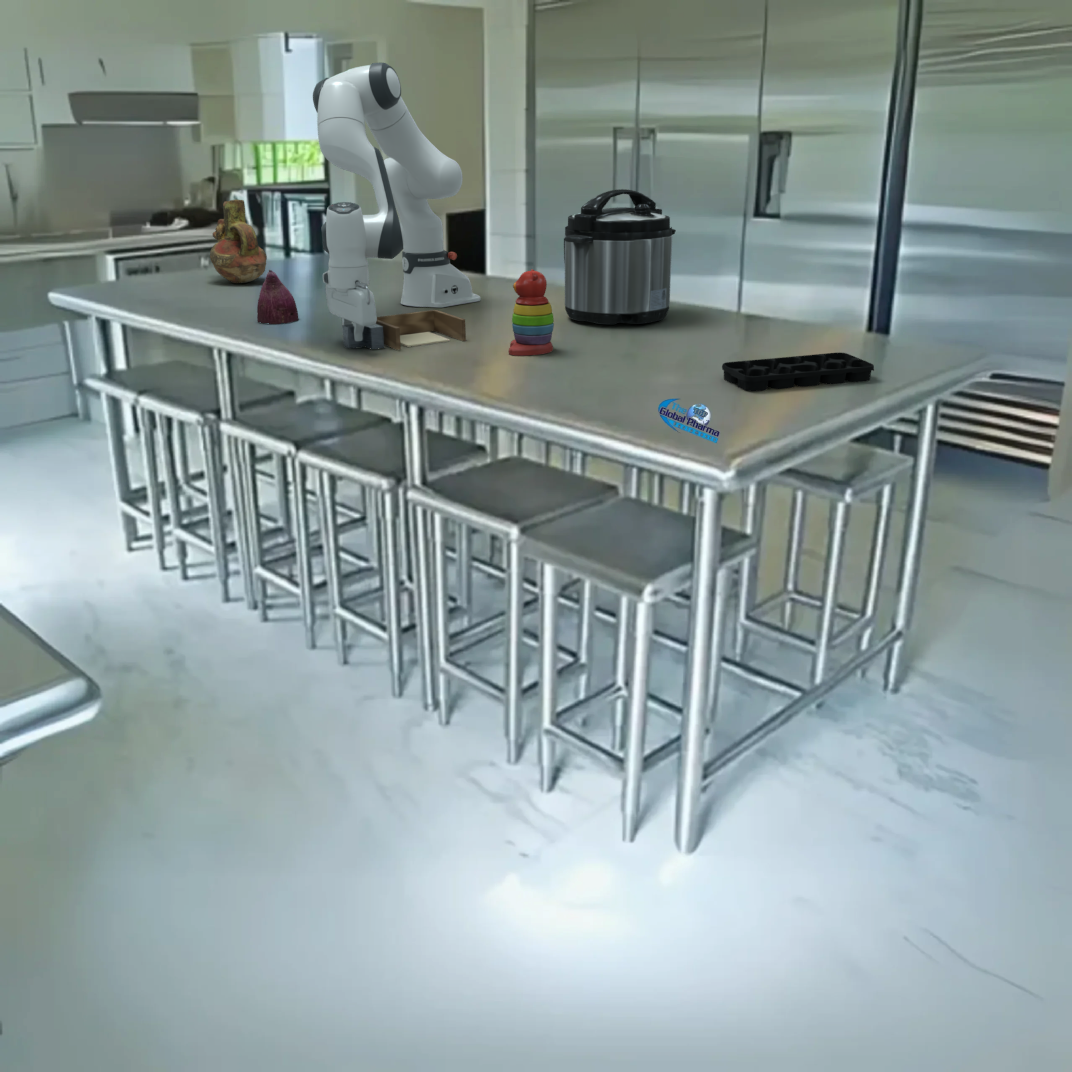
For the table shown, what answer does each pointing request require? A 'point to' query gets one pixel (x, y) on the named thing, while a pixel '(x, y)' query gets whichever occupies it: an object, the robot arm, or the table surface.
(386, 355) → the table surface
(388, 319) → the bay
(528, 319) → the stacking bear
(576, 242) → the pressure cooker
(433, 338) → the pad
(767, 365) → the black plastic tray
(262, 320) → the vegetable
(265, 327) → the table surface
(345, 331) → the bracket
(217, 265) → the ceramic vessel
